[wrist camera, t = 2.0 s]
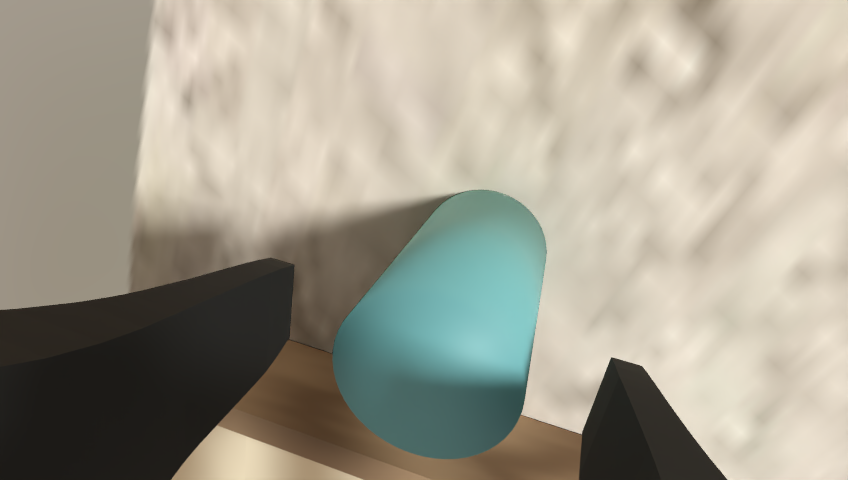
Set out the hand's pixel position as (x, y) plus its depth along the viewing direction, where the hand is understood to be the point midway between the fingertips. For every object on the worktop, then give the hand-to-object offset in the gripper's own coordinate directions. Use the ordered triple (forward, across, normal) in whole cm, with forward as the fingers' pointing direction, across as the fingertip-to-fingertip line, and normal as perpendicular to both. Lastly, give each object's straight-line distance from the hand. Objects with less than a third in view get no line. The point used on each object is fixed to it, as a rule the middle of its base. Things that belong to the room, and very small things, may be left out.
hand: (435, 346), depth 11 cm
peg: (+6, 0, 0) cm, 6 cm away
